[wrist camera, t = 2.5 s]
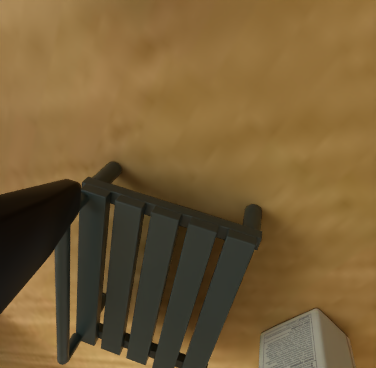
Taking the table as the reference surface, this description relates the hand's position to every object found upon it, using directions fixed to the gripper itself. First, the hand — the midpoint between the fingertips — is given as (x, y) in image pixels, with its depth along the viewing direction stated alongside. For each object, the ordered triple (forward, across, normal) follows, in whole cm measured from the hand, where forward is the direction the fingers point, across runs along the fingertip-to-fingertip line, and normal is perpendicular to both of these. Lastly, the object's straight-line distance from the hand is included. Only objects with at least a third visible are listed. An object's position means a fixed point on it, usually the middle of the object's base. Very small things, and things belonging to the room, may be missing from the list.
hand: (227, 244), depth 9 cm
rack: (+13, +4, +14) cm, 19 cm away
